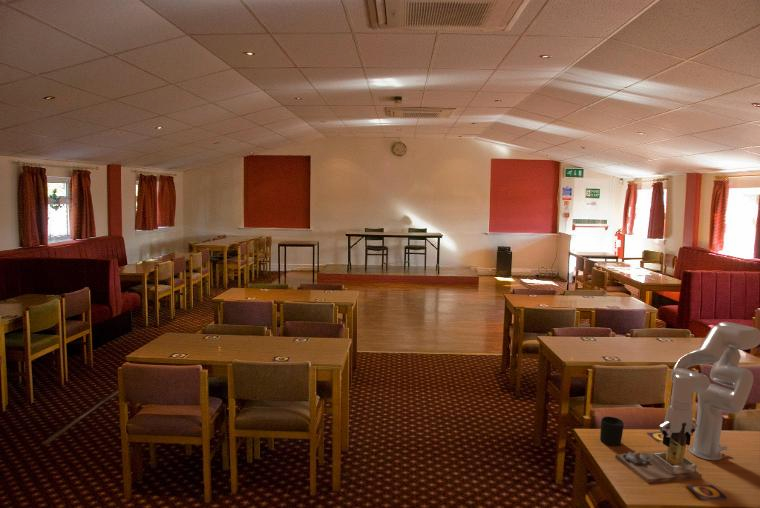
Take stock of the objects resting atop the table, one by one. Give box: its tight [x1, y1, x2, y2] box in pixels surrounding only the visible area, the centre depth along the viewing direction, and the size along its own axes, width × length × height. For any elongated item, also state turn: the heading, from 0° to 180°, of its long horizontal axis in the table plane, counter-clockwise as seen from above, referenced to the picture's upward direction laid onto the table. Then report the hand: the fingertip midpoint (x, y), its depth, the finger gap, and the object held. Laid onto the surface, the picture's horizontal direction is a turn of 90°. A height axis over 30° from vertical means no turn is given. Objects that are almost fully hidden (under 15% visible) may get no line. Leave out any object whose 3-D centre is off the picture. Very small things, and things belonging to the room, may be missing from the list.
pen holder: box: [599, 416, 625, 447], centre depth 251 cm, size 9×9×10 cm
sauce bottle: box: [666, 423, 687, 466], centre depth 228 cm, size 6×6×20 cm
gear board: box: [614, 450, 703, 484], centre depth 229 cm, size 25×20×5 cm
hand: (676, 444), depth 228 cm, fingers open, 9 cm apart
